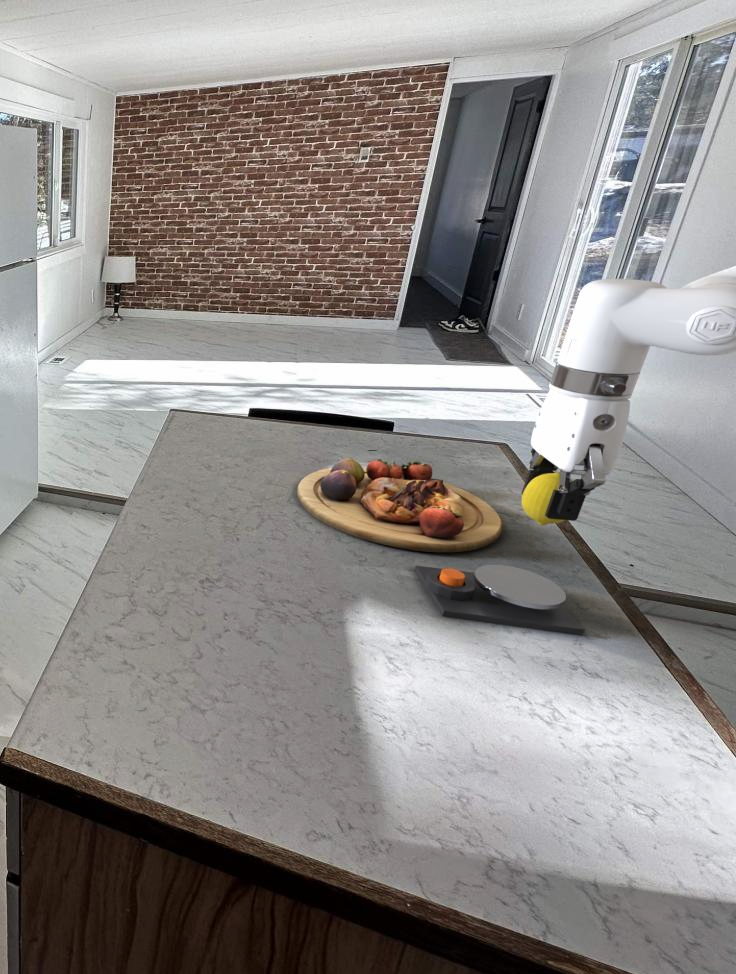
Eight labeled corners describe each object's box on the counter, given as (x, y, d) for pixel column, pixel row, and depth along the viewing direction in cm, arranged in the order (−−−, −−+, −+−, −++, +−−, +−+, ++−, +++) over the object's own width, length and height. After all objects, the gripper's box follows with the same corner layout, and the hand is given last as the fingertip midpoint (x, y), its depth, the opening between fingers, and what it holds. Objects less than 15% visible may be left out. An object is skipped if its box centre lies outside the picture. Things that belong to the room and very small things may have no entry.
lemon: (573, 526, 87) (593, 473, 84) (560, 539, 84) (580, 485, 81) (522, 511, 92) (539, 460, 89) (508, 523, 89) (525, 471, 86)
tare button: (458, 578, 96) (461, 569, 95) (465, 589, 93) (468, 580, 93) (436, 575, 97) (438, 567, 96) (443, 586, 94) (445, 577, 94)
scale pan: (542, 574, 95) (544, 569, 95) (580, 614, 86) (582, 609, 86) (462, 565, 98) (463, 560, 98) (490, 603, 90) (492, 598, 89)
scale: (536, 590, 97) (543, 571, 96) (580, 641, 87) (589, 619, 85) (410, 575, 102) (415, 556, 101) (437, 620, 92) (443, 600, 91)
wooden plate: (536, 568, 102) (553, 523, 99) (312, 543, 112) (321, 501, 109) (458, 483, 130) (468, 446, 127) (284, 469, 140) (290, 434, 137)
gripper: (679, 404, 72) (621, 543, 78) (590, 364, 87) (548, 483, 93) (594, 400, 74) (546, 535, 81) (522, 361, 89) (486, 478, 96)
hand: (547, 506), depth 87 cm, fingers closed on lemon, 5 cm apart
